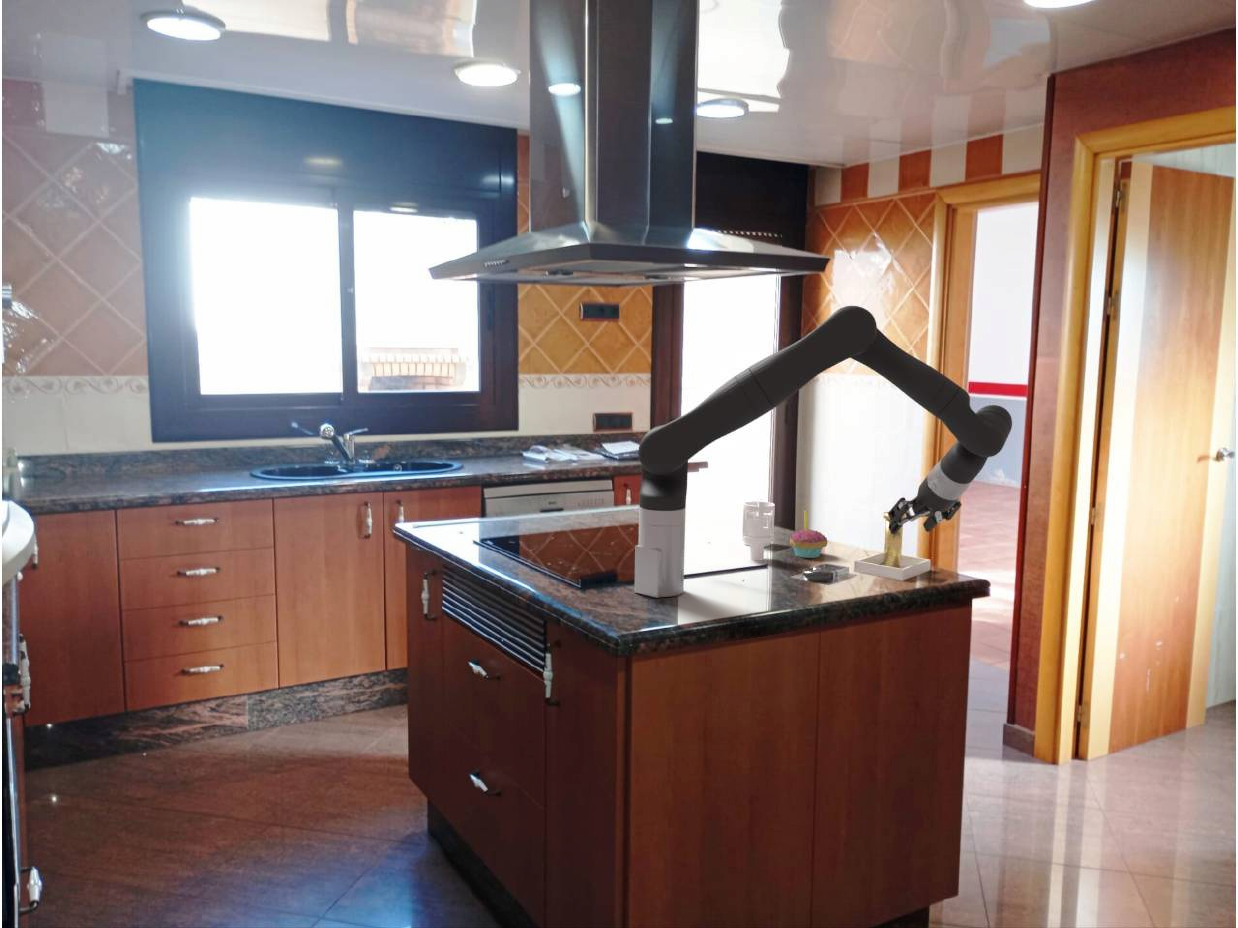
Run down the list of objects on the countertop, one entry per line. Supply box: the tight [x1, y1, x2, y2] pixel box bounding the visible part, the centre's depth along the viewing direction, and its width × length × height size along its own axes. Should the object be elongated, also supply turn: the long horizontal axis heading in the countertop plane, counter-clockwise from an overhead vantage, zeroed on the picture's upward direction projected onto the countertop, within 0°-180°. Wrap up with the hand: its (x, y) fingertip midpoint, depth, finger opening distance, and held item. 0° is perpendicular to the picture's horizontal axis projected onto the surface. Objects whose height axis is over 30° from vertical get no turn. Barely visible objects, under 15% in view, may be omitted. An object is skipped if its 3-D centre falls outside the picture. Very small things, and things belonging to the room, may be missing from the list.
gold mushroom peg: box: [882, 511, 906, 569], centre depth 212 cm, size 5×5×13 cm
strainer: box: [741, 499, 776, 562], centre depth 221 cm, size 7×7×15 cm
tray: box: [853, 551, 932, 582], centre depth 213 cm, size 13×11×4 cm
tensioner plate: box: [790, 562, 857, 586], centre depth 207 cm, size 12×9×3 cm
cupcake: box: [789, 507, 828, 559], centre depth 226 cm, size 9×8×12 cm
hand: (908, 529), depth 207 cm, fingers open, 8 cm apart
